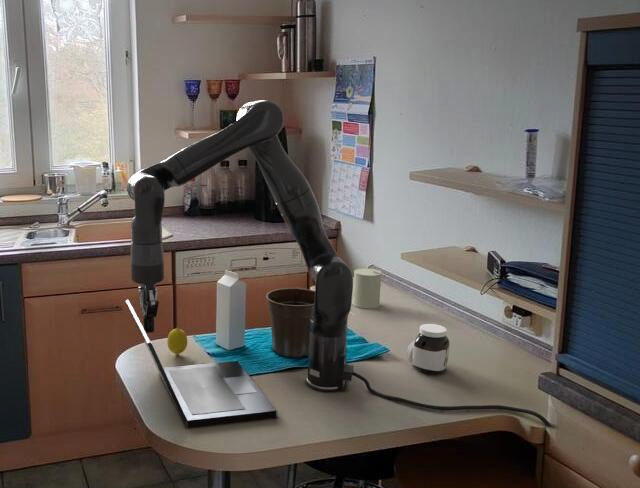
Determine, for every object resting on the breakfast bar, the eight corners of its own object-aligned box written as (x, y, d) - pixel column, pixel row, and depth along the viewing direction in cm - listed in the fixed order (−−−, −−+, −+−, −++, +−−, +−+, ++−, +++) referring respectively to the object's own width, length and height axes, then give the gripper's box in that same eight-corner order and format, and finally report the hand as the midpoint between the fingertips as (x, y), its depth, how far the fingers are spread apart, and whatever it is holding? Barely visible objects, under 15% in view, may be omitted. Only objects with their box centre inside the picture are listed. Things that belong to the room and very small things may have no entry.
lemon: (180, 360, 201) (180, 332, 200) (163, 356, 204) (163, 328, 202) (191, 353, 206) (191, 326, 204) (174, 349, 209) (174, 323, 207)
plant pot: (260, 357, 204) (261, 302, 200) (268, 337, 219) (270, 285, 215) (319, 363, 200) (322, 307, 196) (324, 342, 215) (326, 290, 212)
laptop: (237, 367, 197) (237, 360, 197) (276, 417, 169) (276, 410, 169) (160, 374, 192) (160, 367, 192) (187, 428, 164) (187, 420, 163)
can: (376, 310, 244) (378, 275, 242) (349, 306, 248) (351, 272, 245) (382, 302, 252) (384, 268, 250) (355, 298, 256) (357, 265, 254)
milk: (228, 350, 209) (230, 276, 204) (215, 344, 213) (216, 271, 208) (245, 345, 212) (246, 272, 207) (231, 339, 217) (233, 267, 212)
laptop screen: (128, 299, 185) (125, 300, 185) (151, 341, 157) (147, 343, 157) (160, 367, 192) (157, 369, 192) (187, 420, 164) (183, 422, 163)
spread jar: (434, 379, 191) (438, 336, 188) (395, 367, 198) (398, 326, 196) (454, 365, 200) (458, 325, 197) (415, 354, 207) (418, 315, 204)
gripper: (169, 266, 163) (170, 340, 167) (157, 252, 176) (159, 320, 180) (135, 269, 161) (138, 343, 165) (126, 254, 174) (128, 323, 178)
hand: (149, 331), depth 173 cm, fingers closed
